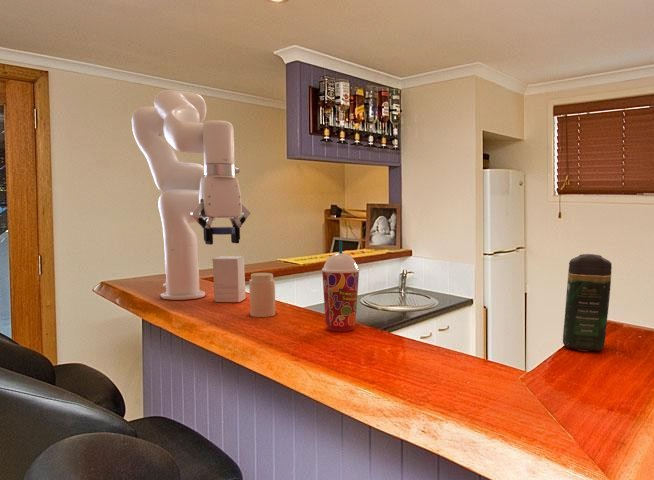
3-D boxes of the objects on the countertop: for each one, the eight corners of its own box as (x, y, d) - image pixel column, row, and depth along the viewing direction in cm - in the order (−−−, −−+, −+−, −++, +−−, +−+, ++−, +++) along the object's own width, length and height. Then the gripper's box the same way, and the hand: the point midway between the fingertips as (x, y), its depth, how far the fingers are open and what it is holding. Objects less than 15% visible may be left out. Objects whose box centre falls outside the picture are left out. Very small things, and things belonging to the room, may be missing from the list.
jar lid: (204, 233, 143) (203, 227, 143) (228, 232, 147) (227, 226, 147) (215, 234, 138) (215, 228, 138) (239, 234, 142) (239, 227, 142)
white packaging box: (246, 298, 166) (245, 255, 164) (238, 302, 158) (237, 258, 156) (222, 297, 166) (220, 255, 164) (213, 302, 159) (211, 258, 157)
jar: (244, 314, 142) (243, 274, 140) (264, 311, 147) (263, 271, 145) (261, 318, 138) (260, 276, 136) (280, 314, 143) (280, 274, 141)
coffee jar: (606, 354, 106) (614, 257, 103) (561, 350, 109) (568, 255, 106) (603, 343, 115) (611, 253, 112) (562, 339, 118) (569, 251, 115)
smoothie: (346, 335, 121) (346, 242, 117) (314, 330, 125) (314, 240, 122) (365, 327, 128) (366, 240, 124) (335, 323, 132) (335, 238, 129)
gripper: (243, 174, 148) (245, 241, 151) (180, 171, 138) (184, 244, 141) (257, 172, 143) (259, 243, 146) (192, 170, 132) (196, 246, 135)
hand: (222, 243), depth 143 cm, fingers closed on jar lid, 6 cm apart
